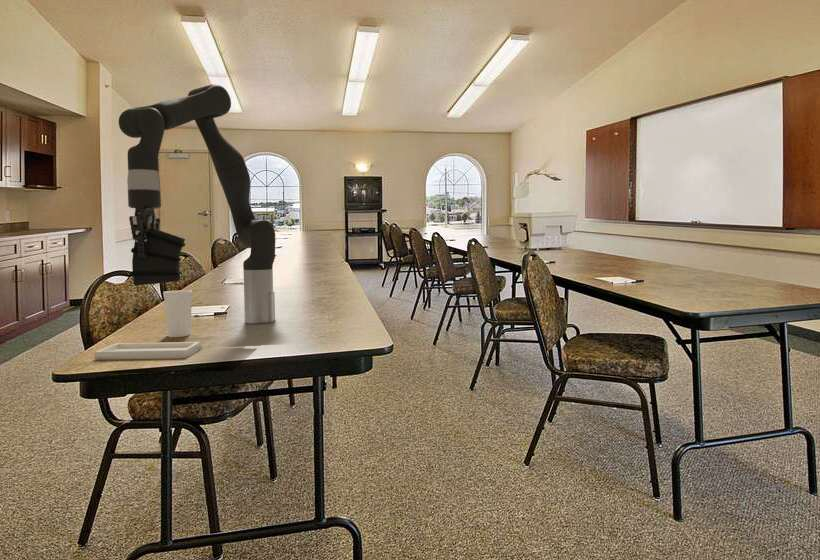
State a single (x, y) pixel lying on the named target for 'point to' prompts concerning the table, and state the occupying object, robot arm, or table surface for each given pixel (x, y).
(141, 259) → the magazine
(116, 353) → the cradle
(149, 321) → the table surface
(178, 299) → the cup
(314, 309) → the table surface
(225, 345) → the table surface
